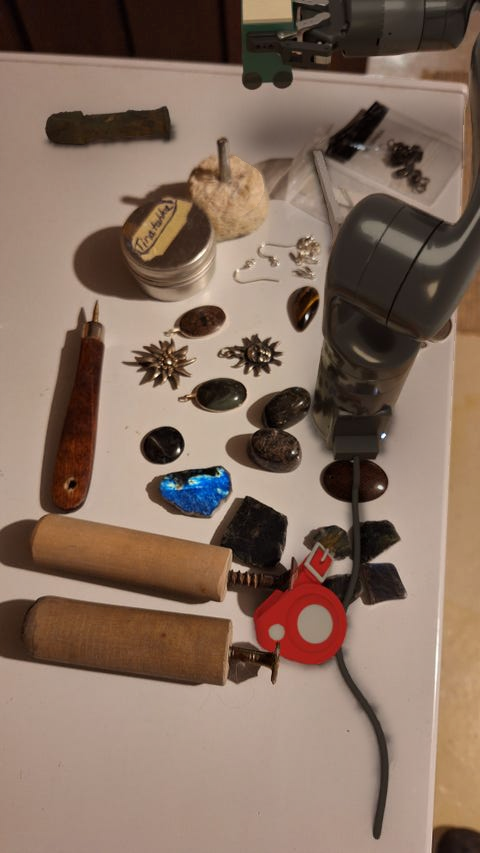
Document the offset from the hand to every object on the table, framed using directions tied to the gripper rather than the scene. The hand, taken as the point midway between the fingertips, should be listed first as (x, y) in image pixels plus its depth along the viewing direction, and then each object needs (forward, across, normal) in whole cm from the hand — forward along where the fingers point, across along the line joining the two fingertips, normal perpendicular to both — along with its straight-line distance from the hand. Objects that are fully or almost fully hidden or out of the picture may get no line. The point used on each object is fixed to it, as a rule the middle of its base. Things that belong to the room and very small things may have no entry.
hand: (246, 27), depth 80 cm
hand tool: (+21, -1, +18) cm, 28 cm away
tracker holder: (-5, +69, +18) cm, 71 cm away
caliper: (-11, +13, +18) cm, 25 cm away
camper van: (-3, 0, +7) cm, 7 cm away
